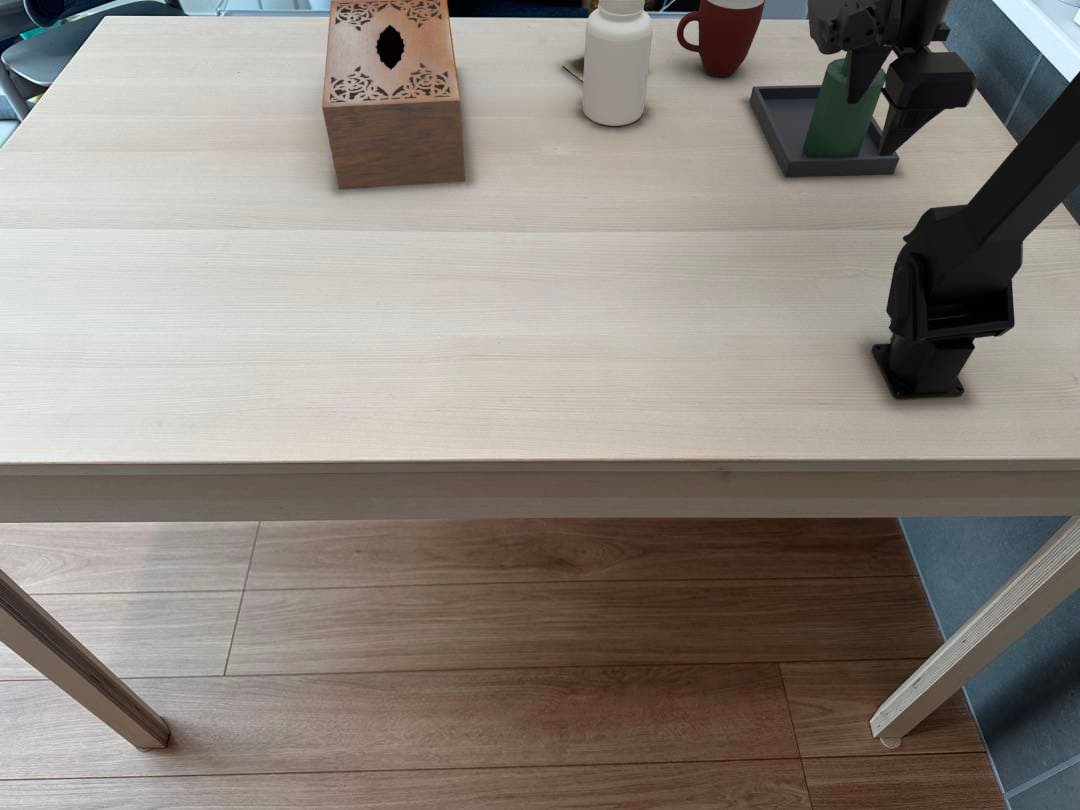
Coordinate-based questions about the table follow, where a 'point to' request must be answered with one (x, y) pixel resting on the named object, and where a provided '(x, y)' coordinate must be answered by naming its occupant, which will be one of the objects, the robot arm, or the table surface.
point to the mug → (723, 33)
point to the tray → (787, 128)
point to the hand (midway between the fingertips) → (867, 128)
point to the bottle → (840, 115)
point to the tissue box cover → (392, 94)
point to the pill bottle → (616, 62)
